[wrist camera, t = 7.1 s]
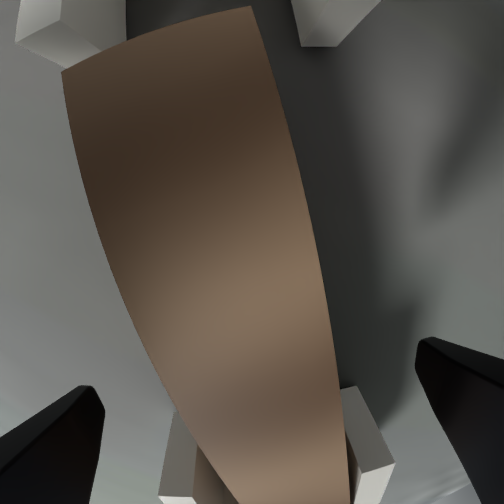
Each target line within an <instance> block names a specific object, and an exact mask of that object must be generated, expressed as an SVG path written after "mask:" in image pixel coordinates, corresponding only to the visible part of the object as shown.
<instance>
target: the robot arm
mask: <svg viewBox="0 0 504 504" xmlns="http://www.w3.org/2000/svg"><path fill="white" fill-rule="evenodd" d="M415 371H416V373H417V375H418V378H419V380H420V382H421V384H422V387H423V389H424V391H425V393H426V396H427V398H428V400H429V403H430V405H431V407H432V409H433V411H434V413H435V415H436V417H437V419H438V421H439V422H440V424H441V426H442V428H443V430H444V431H445V433H446V435H447V437H448V439H449V441H450V442H451V444H452V446H453V448H454V450H455V452H456V454H457V455H458V457H459V459H460V461H461V463H462V465H463V467H464V469H465V471H466V473H467V475H468V477H469V479H470V481H471V483H472V485H473V487H474V489H475V491H476V493H477V495H478V497H479V499H480V501H481V504H504V360H503V359H500V358H497V357H494V356H491V355H488V354H485V353H481V352H478V351H475V350H472V349H469V348H466V347H463V346H460V345H457V344H454V343H451V342H448V341H445V340H442V339H439V338H436V337H428V338H425V339H422V340H420V341H419V343H418V347H417V353H416V359H415ZM104 419H105V409H104V406H103V404H102V402H101V400H100V398H99V396H98V394H97V392H96V390H95V389H94V388H93V387H92V386H86V385H80V386H78V387H76V388H75V389H73V390H72V391H70V392H69V393H67V394H66V395H64V396H63V397H61V398H60V399H58V400H57V401H55V402H54V403H52V404H51V405H49V406H48V407H46V408H45V409H43V410H42V411H40V412H39V413H37V414H35V415H34V416H32V417H31V418H29V419H28V420H26V421H25V422H23V423H22V424H20V425H19V426H17V427H16V428H14V429H12V430H11V431H9V432H8V433H6V434H5V435H3V436H2V437H0V504H89V501H90V496H91V491H92V487H93V482H94V478H95V473H96V469H97V464H98V460H99V454H100V447H101V440H102V432H103V426H104Z"/></svg>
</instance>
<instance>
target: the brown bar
mask: <svg viewBox="0 0 504 504" xmlns="http://www.w3.org/2000/svg"><path fill="white" fill-rule="evenodd" d="M61 74H62V82H63V89H64V95H65V101H66V107H67V113H68V118H69V124H70V129H71V134H72V138H73V143H74V148H75V152H76V156H77V160H78V165H79V169H80V172H81V176H82V180H83V184H84V188H85V191H86V195H87V198H88V202H89V205H90V208H91V212H92V215H93V218H94V221H95V224H96V228H97V231H98V234H99V237H100V240H101V243H102V245H103V248H104V251H105V254H106V257H107V260H108V262H109V265H110V268H111V270H112V273H113V276H114V278H115V281H116V283H117V286H118V288H119V291H120V293H121V296H122V298H123V301H124V303H125V305H126V308H127V310H128V312H129V315H130V317H131V319H132V322H133V324H134V326H135V328H136V331H137V333H138V335H139V337H140V339H141V341H142V343H143V346H144V348H145V350H146V352H147V354H148V356H149V358H150V360H151V362H152V364H153V366H154V368H155V370H156V372H157V374H158V376H159V378H160V380H161V381H162V383H163V385H164V387H165V389H166V391H167V393H168V394H169V396H170V398H171V400H172V402H173V403H174V405H175V407H176V409H177V410H178V412H179V414H180V416H181V417H182V419H183V421H184V422H185V424H186V426H187V427H188V429H189V431H190V432H191V434H192V436H193V437H194V439H195V440H196V442H197V444H198V445H199V447H200V448H201V450H202V451H203V453H204V454H205V456H206V457H207V459H208V460H209V462H210V463H211V465H212V466H213V468H214V469H215V471H216V472H217V474H218V475H219V477H220V478H221V479H222V481H223V482H224V484H225V485H226V486H227V488H228V489H229V490H230V492H231V493H232V495H233V496H234V497H235V499H236V500H237V501H238V502H239V504H350V490H349V475H348V462H347V451H346V440H345V430H344V420H343V411H342V403H341V394H340V387H339V379H338V371H337V364H336V357H335V350H334V344H333V337H332V331H331V325H330V319H329V313H328V307H327V301H326V295H325V290H324V284H323V279H322V274H321V268H320V263H319V258H318V253H317V248H316V243H315V238H314V234H313V229H312V224H311V219H310V215H309V210H308V206H307V201H306V197H305V193H304V188H303V184H302V180H301V176H300V172H299V168H298V163H297V159H296V155H295V152H294V148H293V144H292V140H291V136H290V132H289V128H288V125H287V121H286V117H285V114H284V110H283V107H282V103H281V100H280V96H279V93H278V89H277V86H276V82H275V79H274V76H273V72H272V69H271V66H270V62H269V59H268V56H267V53H266V50H265V47H264V43H263V40H262V37H261V34H260V31H259V28H258V25H257V22H256V19H255V16H254V13H253V11H252V8H251V6H246V7H241V8H235V9H230V10H226V11H221V12H216V13H212V14H208V15H204V16H200V17H196V18H193V19H189V20H185V21H182V22H179V23H175V24H172V25H169V26H166V27H163V28H160V29H157V30H154V31H151V32H148V33H145V34H143V35H140V36H137V37H135V38H132V39H130V40H127V41H125V42H122V43H120V44H117V45H115V46H113V47H110V48H108V49H106V50H104V51H101V52H99V53H97V54H95V55H93V56H91V57H89V58H87V59H85V60H83V61H81V62H79V63H77V64H75V65H73V66H71V67H69V68H67V69H65V70H64V71H62V72H61Z"/></svg>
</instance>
